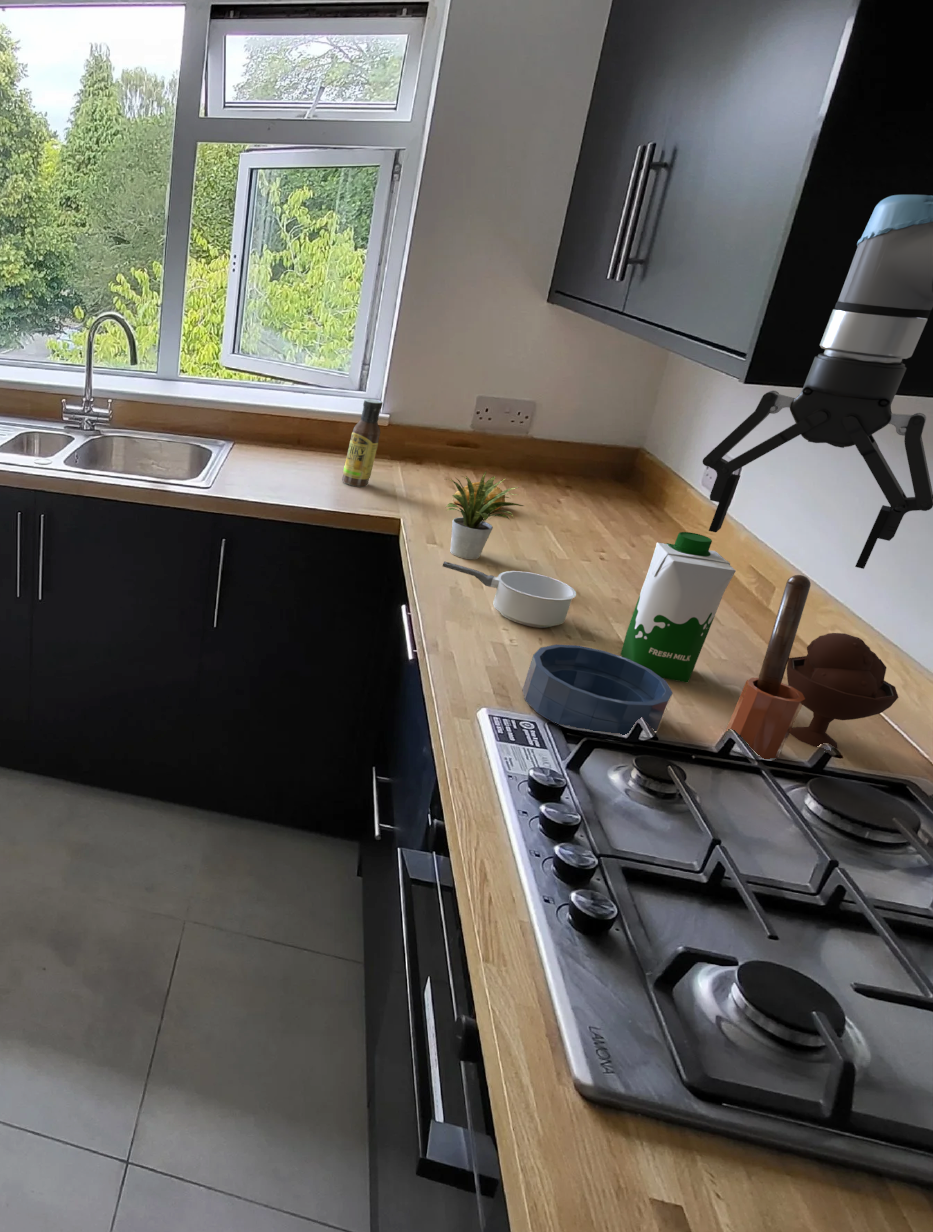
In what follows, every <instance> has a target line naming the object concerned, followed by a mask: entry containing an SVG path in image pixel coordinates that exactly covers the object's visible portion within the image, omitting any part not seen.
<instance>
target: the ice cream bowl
mask: <svg viewBox="0 0 933 1232" xmlns="http://www.w3.org/2000/svg"><path fill="white" fill-rule="evenodd" d="M806 652H807V654H806V655H802V656H795V657H794V656H793V657H789V659H788V662H787V666H786V678H787V685H789V686H791V687H793V688H795V689H796V690H798V691H800V692H801V693H802V694H803V695H804V697H805V701H804V703H803V705H802V706H803V707H805V708H806V709H808V710H809V711H811V712H812V714H813V715H812V716H813V717H812V719H811V720H810V722H809V724H808V726H793V727H792V729H791V731H790V733H789V735H790V736H792V737H794V739H796V740H797V741H799V742H801V743H804V744H806V745H809V746H811V747H813V748H818V747H817V746H819V745H820V744H823V743H829V744H831V745H832V746H834V747H835V749H838V748H839V746H838V742H837V741H836V740H835V739H834V738H832V736H830V734H828V733H827V730H828V728H829V725H830V723H832V722H833V721H834V720H839V721H850V720H851V721H852V720H858V719H864V718H868V717H871V716H876V715H880V714H881V713H883V712H885V711H887V710H888V709H889V708H891V707H892V706H893V705H894V704H895V702H896V701H898V699H899V695H898V692H897V688H896V686H895V685H893V684H891V683H889V682H888V681H886V680H885V677H886V672H887V666H886V665H885V663H884V662H883V661H882V659H881V658H879V656H878V655H877V653H875V652H874V651H872V650H871V647H870V646H869V645H867V644H866V642H865V640H863V639H861V638H860V637H857V636H854V635H852V634H849V633H843V632H829V633H826V634H823V635H819V636H818V637H816V638H815V639H812V640H811V642H810V643H809V644H808V645H807V646H806ZM835 749H834V750H835Z"/></svg>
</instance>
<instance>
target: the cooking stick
mask: <svg viewBox="0 0 933 1232" xmlns="http://www.w3.org/2000/svg"><path fill="white" fill-rule="evenodd" d="M810 589H811V580H810V579H809V577H807V576H805V575H803V574H794V575H792V576H790V577H788V579H787V581H786V584H785V586H784V590H783V593H782V597H781V600H780V603H779V607H778V611H777V613H776V617H775V621H774V624H773V628H772V630H771V634H770V637H769V642H768V645H767V648H766V651H765V655H764V658H763V662H762V664H761V669H760V672H759V675H758V677H757V678H758V682H757V685H756V687H757V688H758V689H760V690H761V691H763V692H766V693H768V694H770V695H773V696H778V692H779V689H780V686H781V683H783V679H784V675H785V672H786V670H787V664H788V659H789V658H790V656H791V652H792V650H793V649H792V648H793V645H794V643H795V639H796V636H797V632H798V629H799V625H800V622H801V619H802V615H803V612H804V609H805V606H806V602H807V599H808V596H809V593H810Z"/></svg>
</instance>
